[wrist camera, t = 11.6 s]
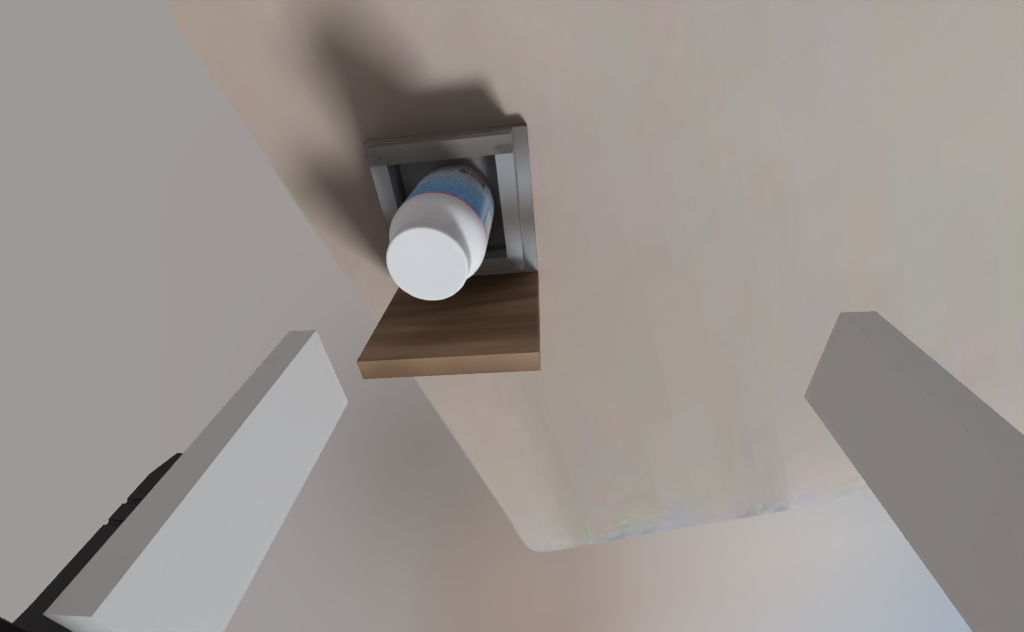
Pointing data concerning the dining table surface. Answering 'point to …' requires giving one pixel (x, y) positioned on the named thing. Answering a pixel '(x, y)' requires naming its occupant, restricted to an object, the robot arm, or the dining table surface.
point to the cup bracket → (487, 293)
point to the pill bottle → (441, 232)
